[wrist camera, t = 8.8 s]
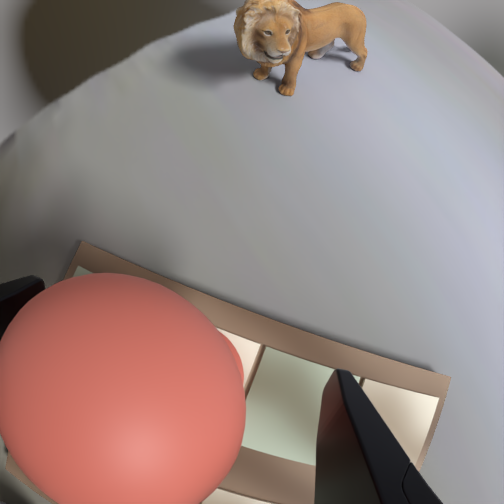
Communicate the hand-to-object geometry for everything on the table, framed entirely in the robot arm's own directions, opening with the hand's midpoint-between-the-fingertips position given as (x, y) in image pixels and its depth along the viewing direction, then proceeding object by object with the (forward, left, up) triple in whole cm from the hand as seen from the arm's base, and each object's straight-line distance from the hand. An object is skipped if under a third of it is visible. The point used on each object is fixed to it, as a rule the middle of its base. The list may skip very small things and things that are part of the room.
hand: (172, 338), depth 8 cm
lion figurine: (+22, +1, -9) cm, 23 cm away
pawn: (-1, 0, -7) cm, 7 cm away
